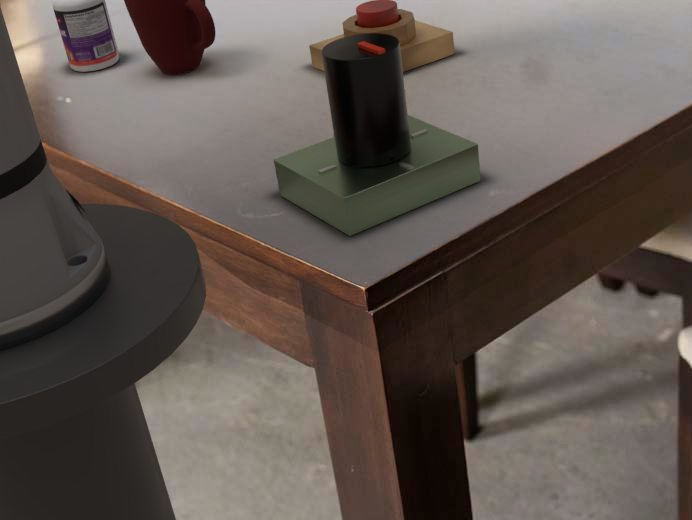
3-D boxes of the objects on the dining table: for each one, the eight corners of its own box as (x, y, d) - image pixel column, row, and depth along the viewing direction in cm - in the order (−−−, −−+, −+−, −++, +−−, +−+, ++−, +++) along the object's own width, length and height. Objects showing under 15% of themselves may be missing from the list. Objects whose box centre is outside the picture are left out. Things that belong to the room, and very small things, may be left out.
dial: (323, 153, 84) (306, 45, 79) (383, 130, 86) (369, 23, 82) (364, 173, 80) (348, 61, 75) (426, 149, 82) (414, 38, 78)
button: (373, 33, 105) (370, 15, 104) (350, 25, 108) (347, 7, 106) (407, 22, 106) (405, 3, 105) (383, 14, 109) (381, -4, 108)
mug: (253, 61, 114) (234, -40, 108) (199, 89, 109) (176, -15, 103) (180, 51, 119) (159, -45, 114) (126, 77, 114) (100, -22, 108)
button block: (362, 87, 103) (356, 45, 101) (312, 67, 110) (305, 26, 108) (454, 54, 108) (451, 12, 106) (401, 36, 114) (397, -3, 112)
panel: (349, 236, 79) (343, 196, 77) (279, 195, 86) (272, 157, 84) (480, 180, 84) (478, 141, 82) (404, 146, 91) (400, 109, 89)
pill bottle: (74, 59, 121) (48, -32, 116) (122, 52, 121) (99, -39, 116) (67, 75, 117) (40, -18, 111) (117, 68, 117) (92, -26, 112)
